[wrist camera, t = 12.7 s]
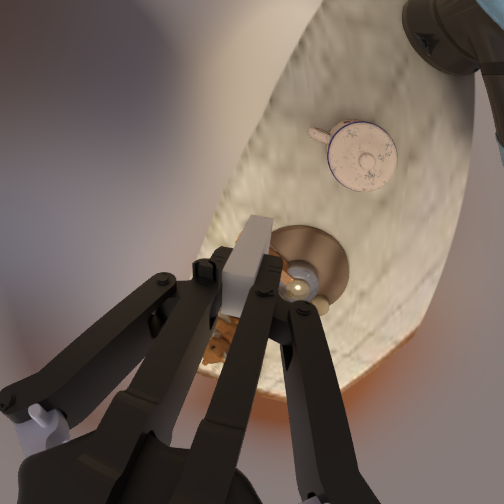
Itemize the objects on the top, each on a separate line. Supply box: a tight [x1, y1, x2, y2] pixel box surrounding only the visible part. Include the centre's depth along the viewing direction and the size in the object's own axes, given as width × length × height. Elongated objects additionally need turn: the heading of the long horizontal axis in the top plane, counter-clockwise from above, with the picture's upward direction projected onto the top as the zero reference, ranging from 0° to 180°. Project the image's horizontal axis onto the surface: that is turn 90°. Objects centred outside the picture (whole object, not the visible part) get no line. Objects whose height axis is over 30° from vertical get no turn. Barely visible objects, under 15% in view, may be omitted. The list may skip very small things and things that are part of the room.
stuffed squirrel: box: [202, 311, 240, 366], centre depth 56 cm, size 10×14×13 cm
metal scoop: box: [235, 232, 319, 302], centre depth 46 cm, size 16×7×4 cm, turn 49°
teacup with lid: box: [307, 120, 397, 192], centre depth 33 cm, size 12×9×12 cm
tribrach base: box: [269, 225, 349, 316], centre depth 49 cm, size 18×18×4 cm
